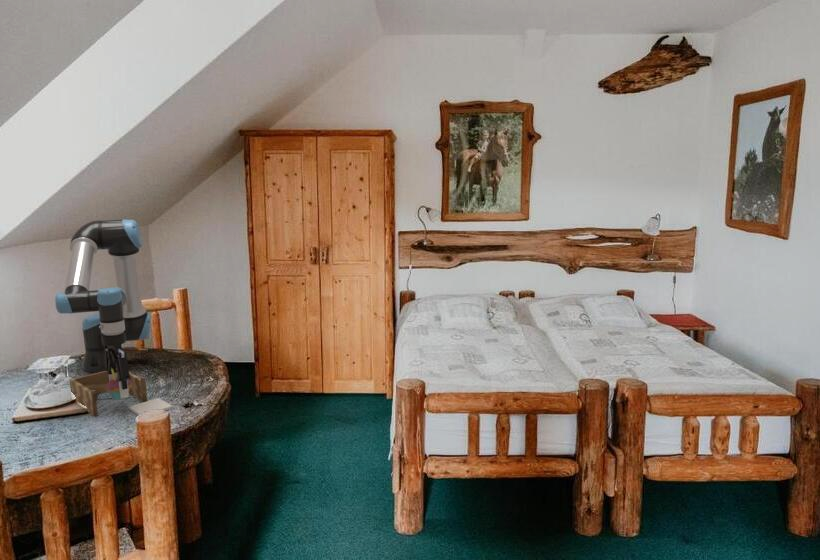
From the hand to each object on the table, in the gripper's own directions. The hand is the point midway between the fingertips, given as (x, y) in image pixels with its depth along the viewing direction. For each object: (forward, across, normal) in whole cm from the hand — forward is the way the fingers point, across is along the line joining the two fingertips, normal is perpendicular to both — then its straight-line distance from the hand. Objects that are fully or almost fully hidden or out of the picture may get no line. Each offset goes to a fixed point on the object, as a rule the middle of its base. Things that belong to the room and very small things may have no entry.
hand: (119, 394), depth 215 cm
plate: (+6, +8, +7) cm, 12 cm away
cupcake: (+1, 0, 0) cm, 1 cm away
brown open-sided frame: (+6, -11, 0) cm, 12 cm away
